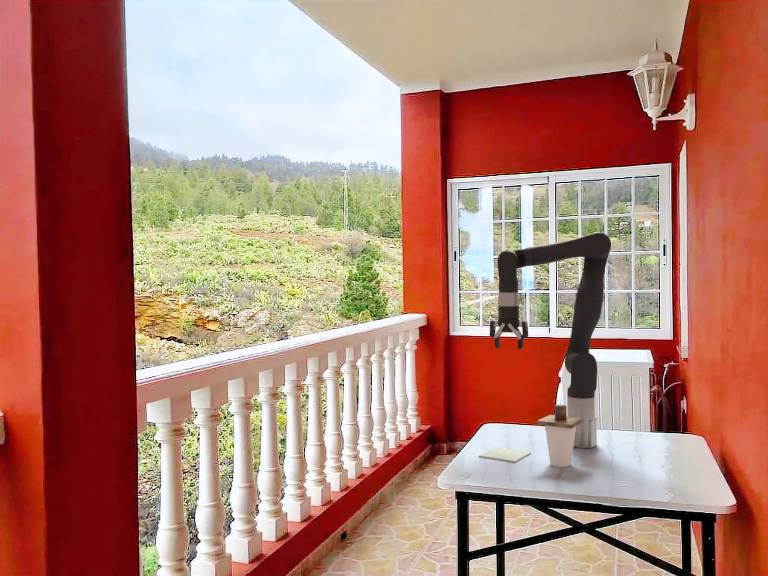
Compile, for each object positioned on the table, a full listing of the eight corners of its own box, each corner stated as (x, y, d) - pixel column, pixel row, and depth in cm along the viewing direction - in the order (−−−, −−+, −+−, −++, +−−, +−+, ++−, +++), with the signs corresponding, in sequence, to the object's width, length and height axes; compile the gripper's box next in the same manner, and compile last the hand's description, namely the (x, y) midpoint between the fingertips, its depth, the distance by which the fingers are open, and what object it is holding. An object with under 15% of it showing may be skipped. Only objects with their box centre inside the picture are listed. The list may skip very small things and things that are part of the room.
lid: (583, 422, 211) (583, 404, 211) (571, 428, 202) (571, 410, 202) (550, 418, 217) (550, 401, 217) (537, 424, 208) (537, 406, 208)
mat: (530, 453, 222) (530, 452, 222) (515, 462, 212) (515, 461, 212) (495, 448, 230) (495, 447, 230) (478, 457, 219) (478, 455, 219)
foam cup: (563, 470, 203) (563, 427, 203) (539, 463, 210) (539, 422, 210) (581, 464, 209) (581, 423, 209) (557, 458, 216) (557, 418, 216)
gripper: (530, 304, 242) (531, 349, 242) (494, 304, 250) (495, 347, 250) (522, 305, 236) (523, 351, 236) (486, 305, 244) (486, 349, 244)
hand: (508, 349), depth 243 cm, fingers open, 8 cm apart
